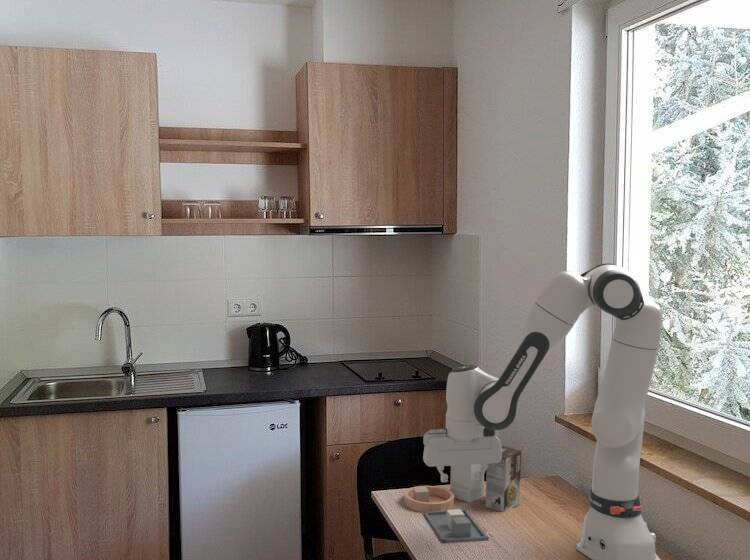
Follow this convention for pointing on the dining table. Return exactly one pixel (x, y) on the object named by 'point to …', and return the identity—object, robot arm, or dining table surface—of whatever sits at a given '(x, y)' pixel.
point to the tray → (446, 535)
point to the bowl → (430, 500)
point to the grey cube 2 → (461, 527)
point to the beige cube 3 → (453, 516)
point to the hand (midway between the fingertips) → (462, 480)
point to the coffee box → (504, 481)
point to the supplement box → (466, 482)
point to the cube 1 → (421, 494)
